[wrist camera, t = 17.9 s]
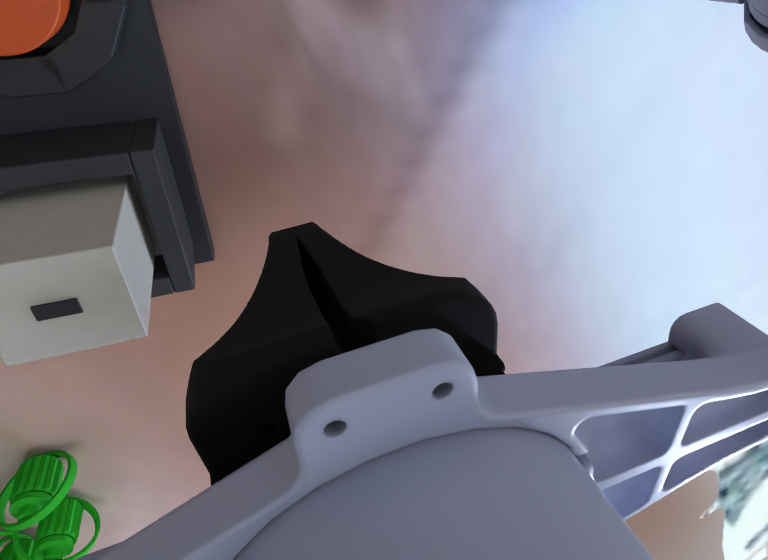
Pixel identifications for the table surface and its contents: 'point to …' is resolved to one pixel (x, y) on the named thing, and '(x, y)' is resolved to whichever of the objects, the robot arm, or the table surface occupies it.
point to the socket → (109, 159)
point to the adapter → (103, 88)
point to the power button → (29, 23)
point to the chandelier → (44, 510)
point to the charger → (73, 268)
